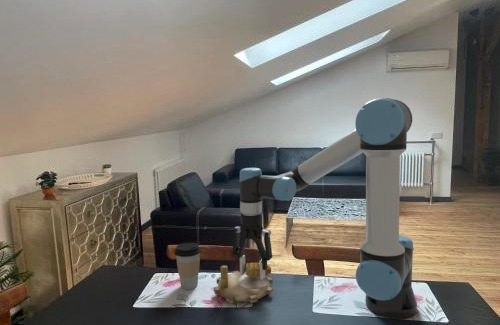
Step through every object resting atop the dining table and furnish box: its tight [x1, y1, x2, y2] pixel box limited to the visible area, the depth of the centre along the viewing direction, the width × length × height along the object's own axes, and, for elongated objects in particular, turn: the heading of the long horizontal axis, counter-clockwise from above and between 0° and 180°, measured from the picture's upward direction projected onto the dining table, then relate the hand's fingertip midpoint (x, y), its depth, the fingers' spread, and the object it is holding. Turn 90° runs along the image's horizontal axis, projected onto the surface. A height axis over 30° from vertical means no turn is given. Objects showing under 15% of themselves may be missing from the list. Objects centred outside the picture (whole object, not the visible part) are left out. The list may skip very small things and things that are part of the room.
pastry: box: [245, 262, 272, 277], centre depth 126 cm, size 9×7×4 cm
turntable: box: [213, 265, 274, 304], centre depth 122 cm, size 21×21×9 cm
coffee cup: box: [173, 242, 202, 291], centre depth 126 cm, size 9×9×15 cm
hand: (252, 275), depth 123 cm, fingers closed on pastry, 7 cm apart
